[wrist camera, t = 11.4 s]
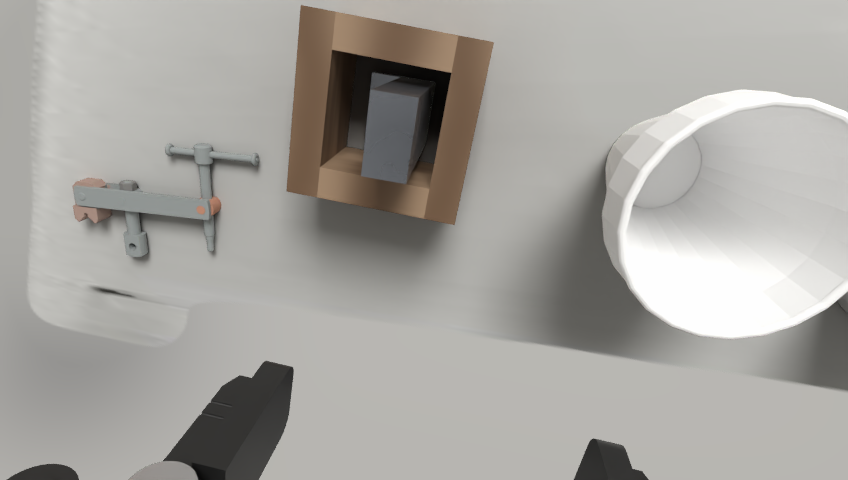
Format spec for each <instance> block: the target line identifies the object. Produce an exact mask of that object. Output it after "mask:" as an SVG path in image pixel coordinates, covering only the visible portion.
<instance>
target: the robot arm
mask: <svg viewBox="0 0 848 480" xmlns="http://www.w3.org/2000/svg"><path fill="white" fill-rule="evenodd" d="M837 301H838V303H839V304H840V306H841V307H842V308H843V309H844V311H846V312H847V313H848V292H846V293H845V294H844V295H843V296H842V297H840V298H839V299H838V300H837ZM292 382H293V367H290V366H286V365H282V364H277V363H273V362H269V361H265V362H264V363H263V364H262V365H261V366H260V368H259V369H258V370H257V372H256V373H255V375H254V376H253V377H252V378H249V377H244V376H238V377H236V378H235V379H233V380H232V381H230V382H228V383H227V384H225V385H223V386H222V387H221V389H220V390H219V391H218V392H217V394H216V395H215V396H214V397H213V399H212V400H211V403H209V404H208V405H207V406H206V408H205V409H204V410H203V411H202V414H201V415H200V416H198V418H197V419H196V420H195V421H194V423H193V424H192V425H191V427H190V428H189V429H188V430H187V432H186V433H185V434H184V435H183V437H182V438H181V439H180V440H179V442H178V443H177V444H176V446H175V447H174V448H173V449H172V451H171V452H170V453H169V455H168V456H167V457H166V458H165V459H164V460H163V461H162V462H158V463H154V464H151V465H149V466H147V467H144V468H143V469H141V470H139V471H138V472H137V473H135V474H134V475H133V476H132V477H131V478H130V479H129V480H259V478H260V476H261V474H262V472H263V470H264V468H265V467H266V465H267V463H268V461H269V459H270V457H271V455H272V453H273V451H274V450H275V448H276V446H277V444H278V442H279V440H280V438H281V436H282V434H283V432H284V429H285V426H286V423H287V420H288V415H289V408H290V399H291V390H292ZM7 480H79V479H78V475H77V474H76V472H75V471H74V470H73V469H72V468H70V467H68V466H64V465H59V464H46V465H40V466H35V467H32V468H29V469H26V470H24V471H21V472H19V473H17V474H15V475H14V476H12V477H10V478H9V479H7ZM574 480H648V478H647V477H646V476H645V475H644V473H643V472H642V471H639V470H635V469H632V466H631V464H630V461H629V458H628V455H627V452H626V450H625V448H624V447H623V446H622V445H619V444H615V443H611V442H606V441H602V440H597V439H592V440H591V441H590V442H589V444H588V447H587V449H586V451H585V454H584V456H583V459H582V461H581V464H580V466H579V468H578V471H577V473H576V476H575V479H574Z"/></svg>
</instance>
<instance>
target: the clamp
mask: <svg viewBox="0 0 848 480" xmlns="http://www.w3.org/2000/svg"><path fill="white" fill-rule="evenodd" d="M165 152H166V154H167V155H168V156H173V154H180V155H189V156H194V158H195V163H196V164H199V174H200V186H201V198H200V199H197V198H188V197H179V196H170V195H161V194H152V193H143V191H142V190H141V189H140V188H137V184H136V182H135V181H131V180H127V181H121V182H120V183H119V184H112V183H105V182H104V181H103V180H102V179H94V178H86V179H83V180H80V181H77V182H76V183H75V184H74V185H73V192H74V197H75V203H76V205H74V206H73V209H74V215H75V218H76V219H77V220H78V221H79V222H80V221H82V220H84V219H86V218H90V219H91V220H92V221H93V222H94V223H98V222H100V221H102V220H104V219H106V218H108V217H110V216H111V215H112V213H111V209H115V210H124V211H125V217H126V224H127V232H125V233H124V234H123V235H124V242H125V249H126V255H129V256H132V257H141V256H143V255H145V254H147V253H148V245H147V238H146V232H141V226H140V218H139V212H141V213H150V214H158V215H167V216H176V217H185V218H193V219H202V220H203V222H204V234H205V236H206V240H207V250H208V251H214V235H215V229H214V216H213V215H214V214H215V213H217V212H218V211H219V210H220V209H221V202H220V200H219V199H218V198H217V197H214V196H212V189H211V175H210V164H211V163H213V158H216V159H225V160H234V161H242V162H251V163H252V165H253V166H256V165H258V163H259V156H258V154H257V153H254V154H253V155H252V156H250V155H241V154H232V153H223V152H214V151H212V146H211V145H210V144H204V143H201V144H195V145H194V149H187V148H179V147H174V146H173V145H172V144H167V145H166V147H165Z"/></svg>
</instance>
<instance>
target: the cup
mask: <svg viewBox="0 0 848 480" xmlns="http://www.w3.org/2000/svg"><path fill="white" fill-rule="evenodd" d="M605 172H606V188H607V192H606V197H605V202H604V206H603V211H602V223H603V237H604V243H605V246H606V248H607V251H608V254H609V256H610V259H611V261H612V264H613V266H614V267H615V269H616V270H617V271H618V272H619V274H620V275H621V276H622V277H623V279H624V280H625V281H626V283H627V286H628V288H629V289H630V290H631V292H632V293H633V294H634V295H635V297H636V298H637V299H638V300H639V302H640V303H641V304H642V305H643V307H644V308H645V309H646V310H647V311H649V312H650V313H652V314H653V315H655V316H656V317H658V318H659V319H660V320H662V321H663V322H665V323H666V324H668V325H669V326H671V327H674V328H677V329H680V330H682V331H685V332H688V333H691V334H694V335H696V336H701V337H710V338H720V339H729V340H731V339H740V338H749V337H758V336H765V335H768V334H771V333H774V332H777V331H780V330H784V329H787V328H790V327H793V326H796V325H798V324H800V323H802V322H804V321H805V320H807V319H809V318H811V317H813V316H815V315H816V314H818V313H820V312H822V311H824V310H826V309H827V308H829V307H830V306H831V305H832V304H833V303H835V302H836V301H837V300H838V299H839V298H840V297H842V296H843V295H844V294H845V293H846V292H848V113H847V112H846V111H843V110H841V109H838V108H835V107H833V106H830V105H827V104H825V103H822V102H819V101H817V100H814V99H811V98H798V97H791V96H787V95H784V94H780V93H777V92H766V91H753V90H736V91H731V92H725V93H720V94H714V95H709V96H705V97H703V98H700V99H698V100H696V101H693V102H691V103H689V104H687V105H684V106H682V107H680V108H677V109H675V110H673V111H671V112H670V113H669V114H666V115H663V116H659V117H656V118H652V119H649V120H645V121H643V122H641V123H638V124H636V125H634V126H632V127H631V128H629V129H628V130H627V131H625V132H624V133H623V134H622V135H621V136H620V137H619V138H618V139H617V141H616V142H615V143H614V144H613V146H612V148H611V150H610V152H609V154H608V157H607V162H606V166H605Z"/></svg>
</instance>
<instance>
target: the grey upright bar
mask: <svg viewBox="0 0 848 480" xmlns="http://www.w3.org/2000/svg"><path fill="white" fill-rule="evenodd" d="M435 84H436V82H433V81H427V80H421V79H415V78H409V77H404V76H398V75H392V74H386V73H380V72H372V78H371V86H370V95H369V104H368V113H367V122H366V131H365V144H364V153H363V162H362V171H361V176H363V177H368V178H374V179H380V180H385V181H391V182H397V183H402V184H406V183H407V181H408V179H409V177H410V175H411V173H412V171H413V169H414V167H415V165H416V163H417V161H418V159H419V157H420V155H421V152H422V150H423V148H424V146H425V144H426V140H427V134H428V128H429V122H430V115H431V109H432V103H433V96H434V90H435Z"/></svg>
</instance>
